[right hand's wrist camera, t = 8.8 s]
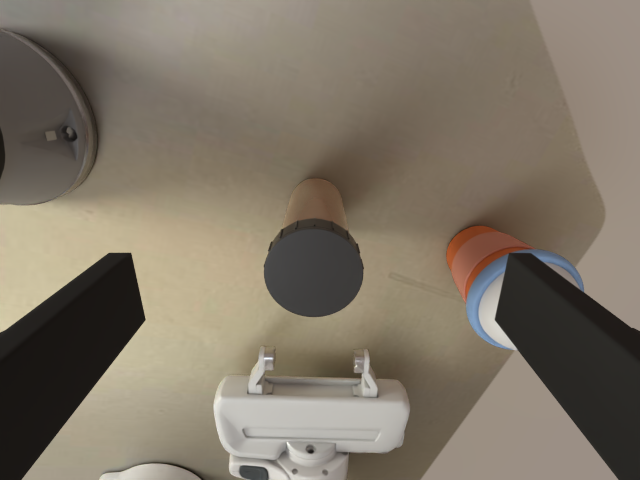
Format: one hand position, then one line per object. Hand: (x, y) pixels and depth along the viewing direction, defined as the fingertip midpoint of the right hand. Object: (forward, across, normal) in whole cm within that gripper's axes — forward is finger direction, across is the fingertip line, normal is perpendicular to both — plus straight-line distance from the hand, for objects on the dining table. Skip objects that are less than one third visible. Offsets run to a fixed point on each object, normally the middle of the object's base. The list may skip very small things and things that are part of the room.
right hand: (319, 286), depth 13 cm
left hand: (+18, 0, +17) cm, 25 cm away
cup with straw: (+24, -17, +9) cm, 31 cm away
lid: (+9, 0, +4) cm, 10 cm away
